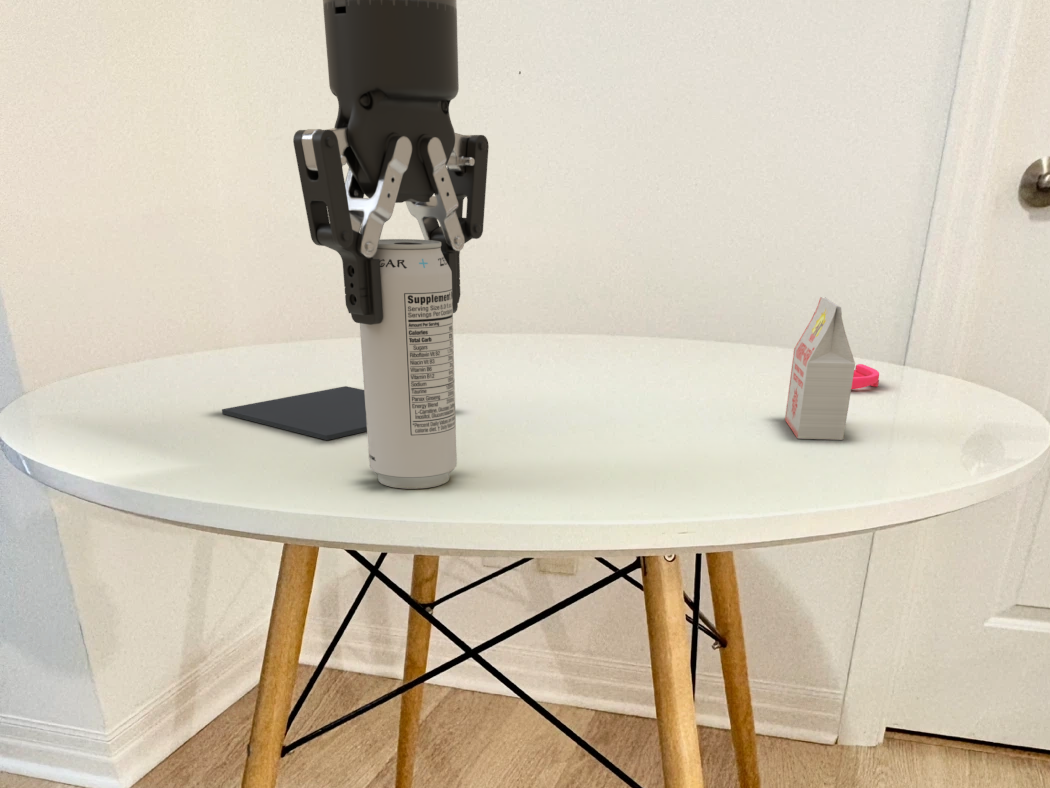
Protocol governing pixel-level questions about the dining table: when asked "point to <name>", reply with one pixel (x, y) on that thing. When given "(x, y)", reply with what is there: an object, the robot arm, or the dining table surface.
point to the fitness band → (864, 377)
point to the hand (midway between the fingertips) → (405, 316)
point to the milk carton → (821, 377)
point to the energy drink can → (411, 368)
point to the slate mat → (311, 413)
